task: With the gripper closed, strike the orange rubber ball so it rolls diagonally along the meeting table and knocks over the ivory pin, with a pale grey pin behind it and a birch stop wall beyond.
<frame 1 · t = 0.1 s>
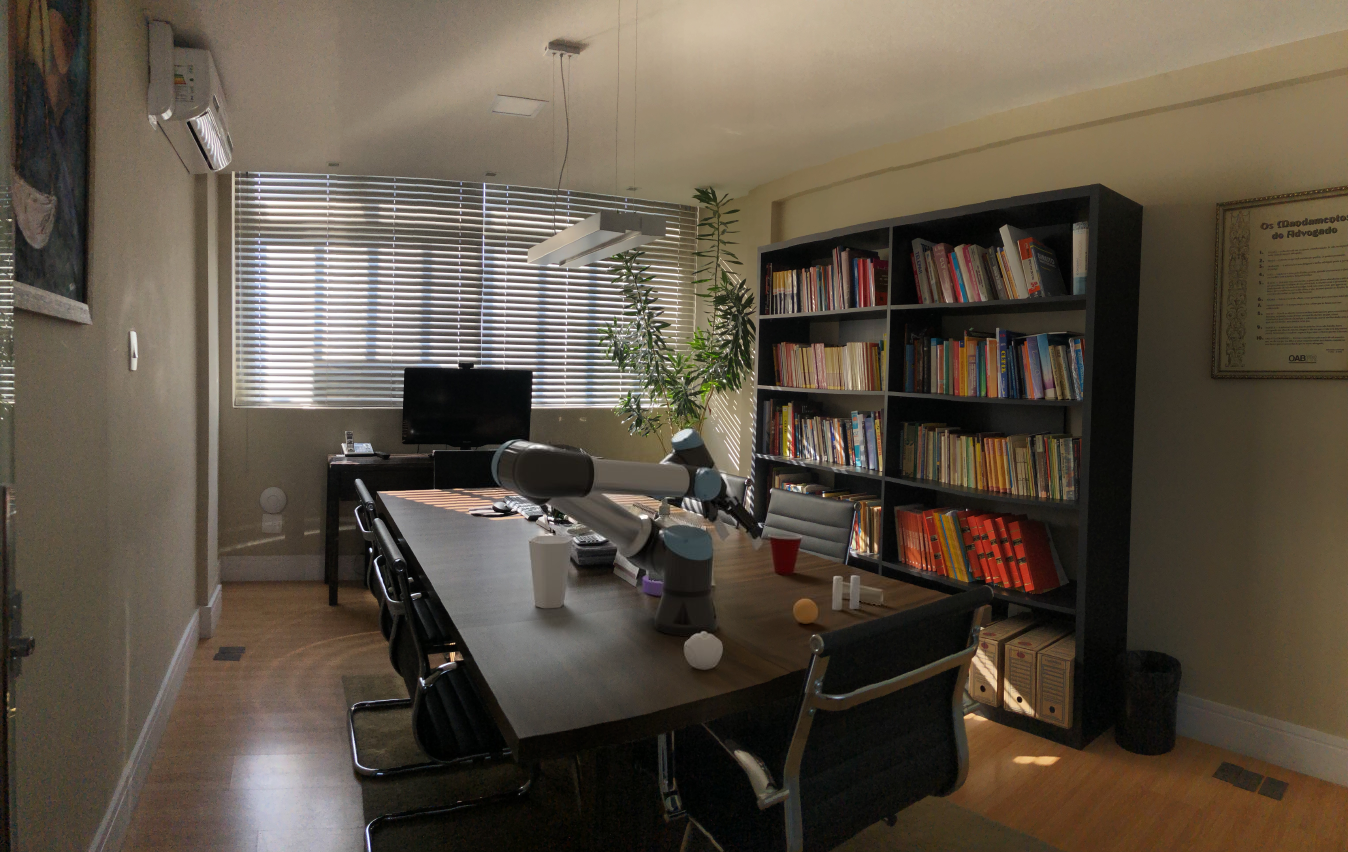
hand: (742, 541, 219), 15 cm above the table, tool tilted 35°, fingers open, 13 cm apart
pin 2: (854, 608, 212), on the table
cup: (549, 605, 207), on the table
masking tape: (663, 591, 225), on the table
plastic cup: (784, 573, 250), on the table
stop wall: (857, 599, 220), on the table
pin 1: (836, 608, 211), on the table
ball: (805, 611, 197), on the table
white round lump: (702, 669, 164), on the table
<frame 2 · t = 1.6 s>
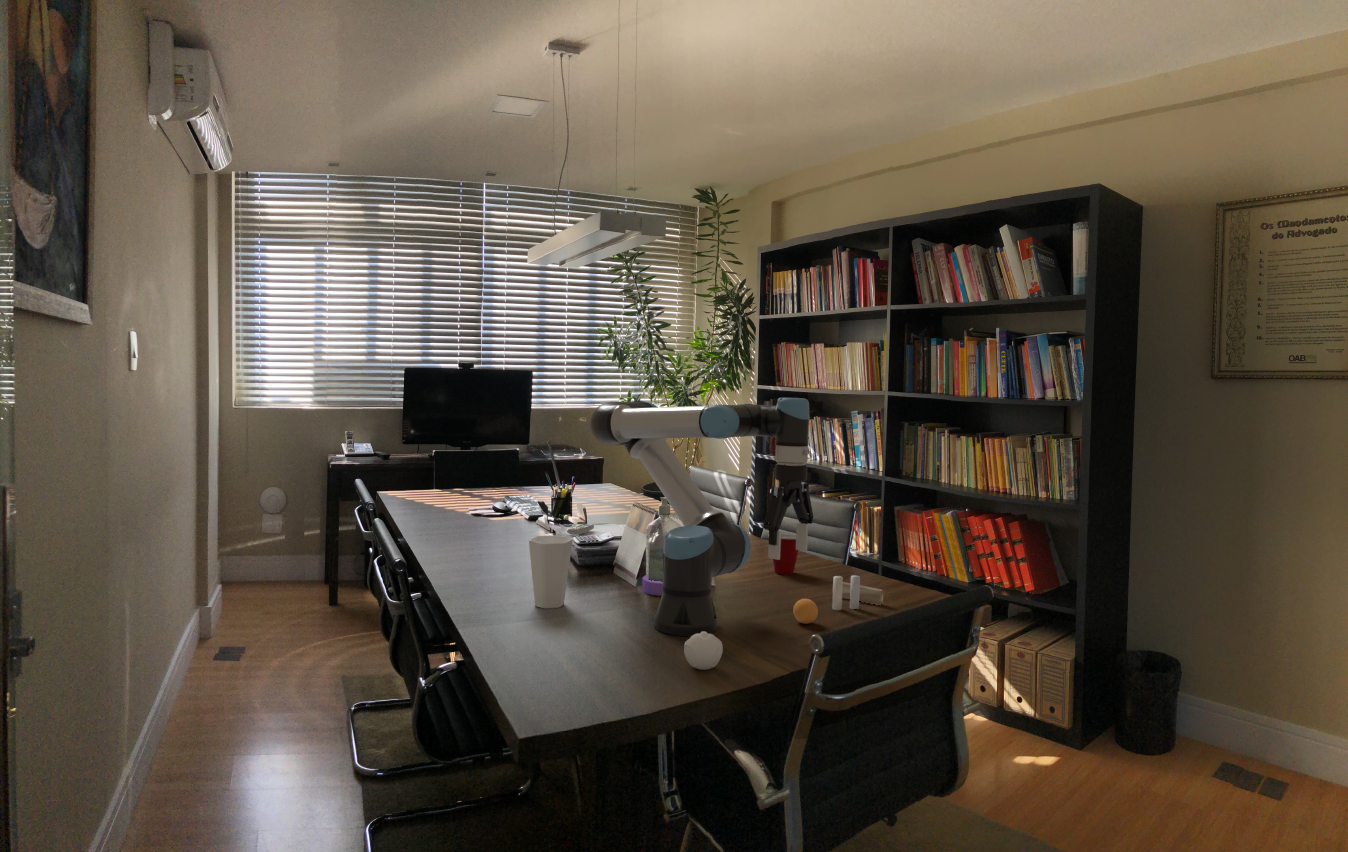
hand: (788, 554, 189), 18 cm above the table, tool pointing down, fingers open, 12 cm apart
nothing on the table moved.
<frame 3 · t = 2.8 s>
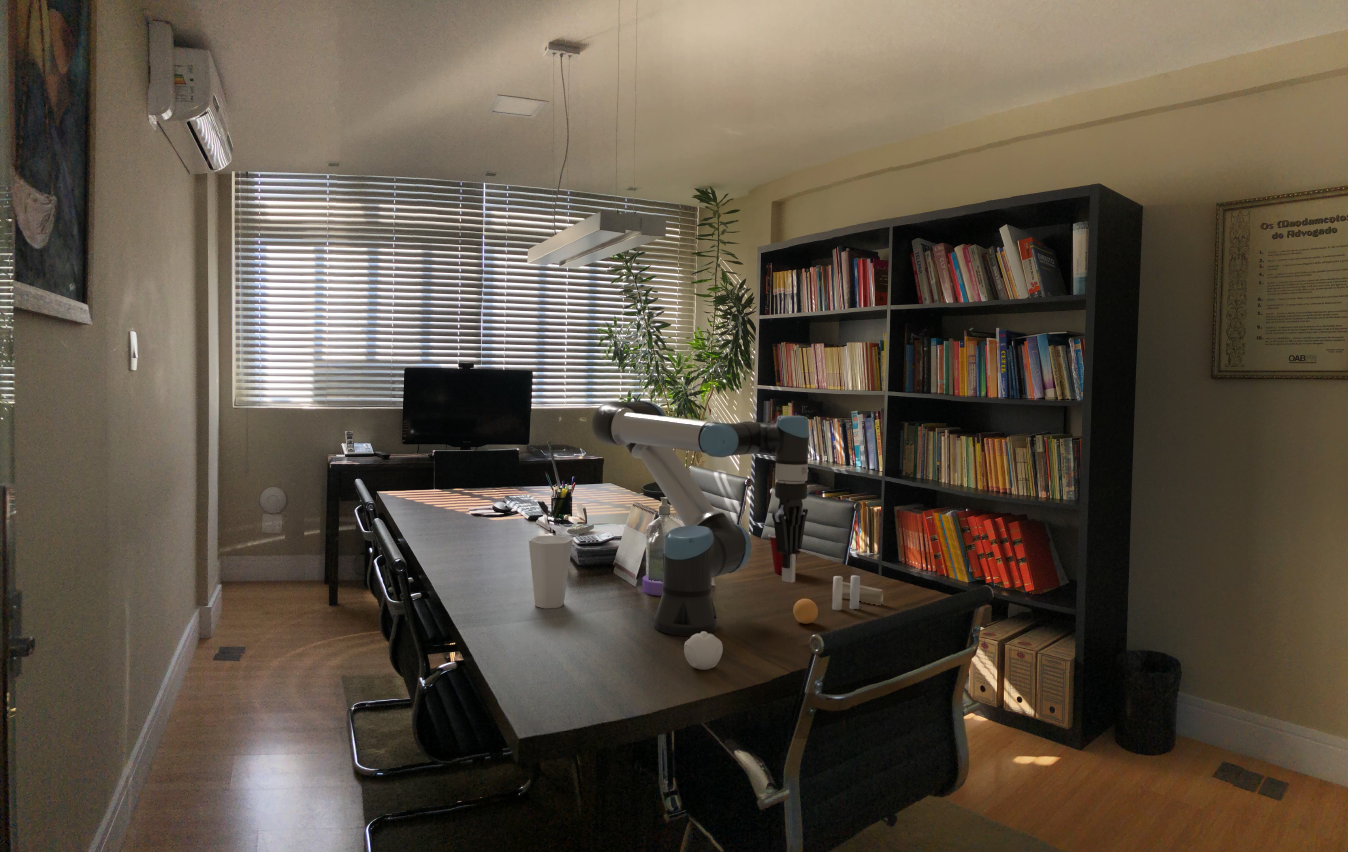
hand: (788, 580, 189), 12 cm above the table, tool pointing down, fingers closed
nothing on the table moved.
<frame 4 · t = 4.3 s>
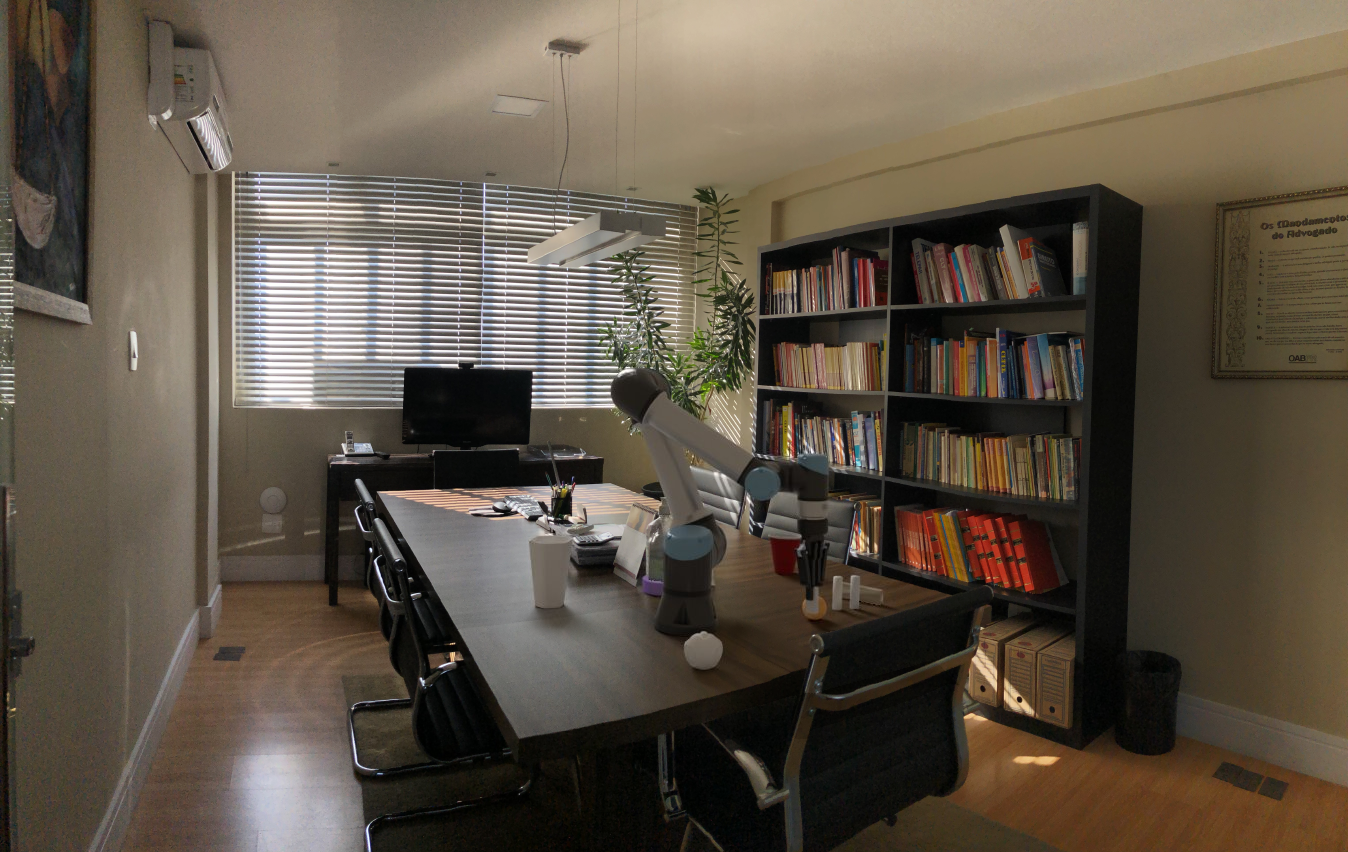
hand: (812, 612, 197), 3 cm above the table, tool pointing down, fingers closed
ball: (814, 607, 201), on the table
everything else where it was.
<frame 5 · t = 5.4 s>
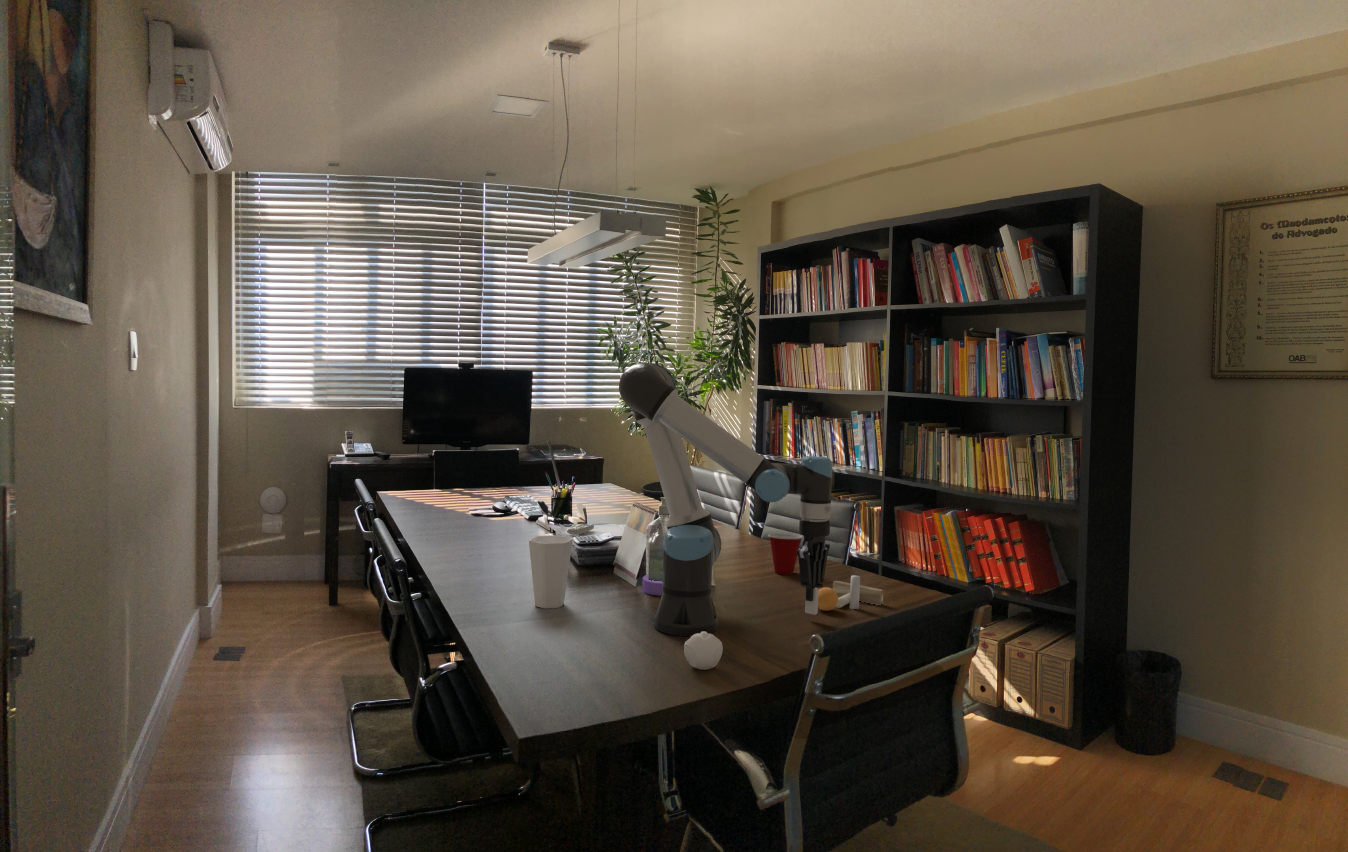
hand: (811, 612, 200), 2 cm above the table, tool pointing down, fingers closed
pin 1: (837, 603, 212), point 1 cm above the table, tilted 90°
ball: (826, 598, 209), on the table
everything else where it was.
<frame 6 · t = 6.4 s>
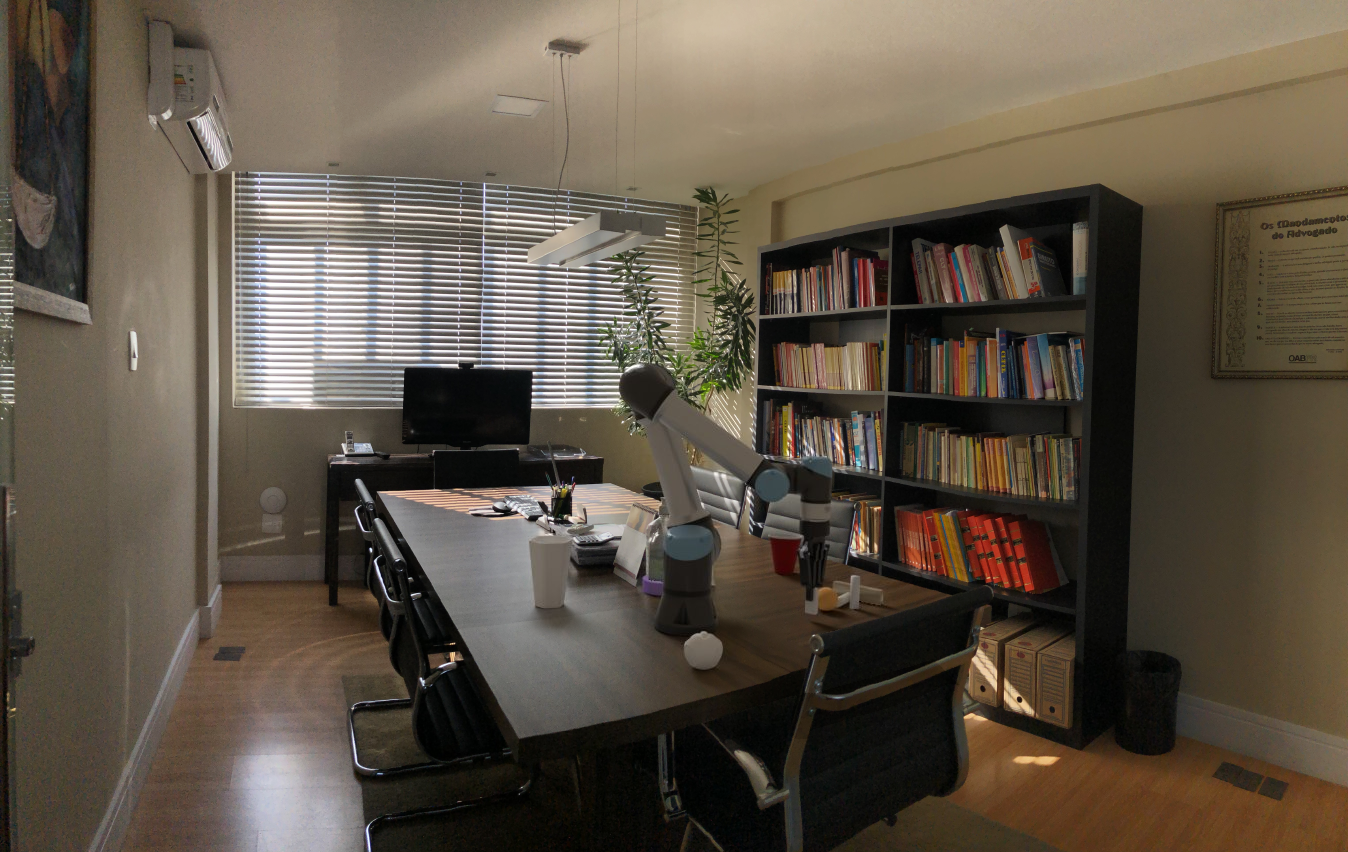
hand: (811, 612, 200), 2 cm above the table, tool pointing down, fingers closed
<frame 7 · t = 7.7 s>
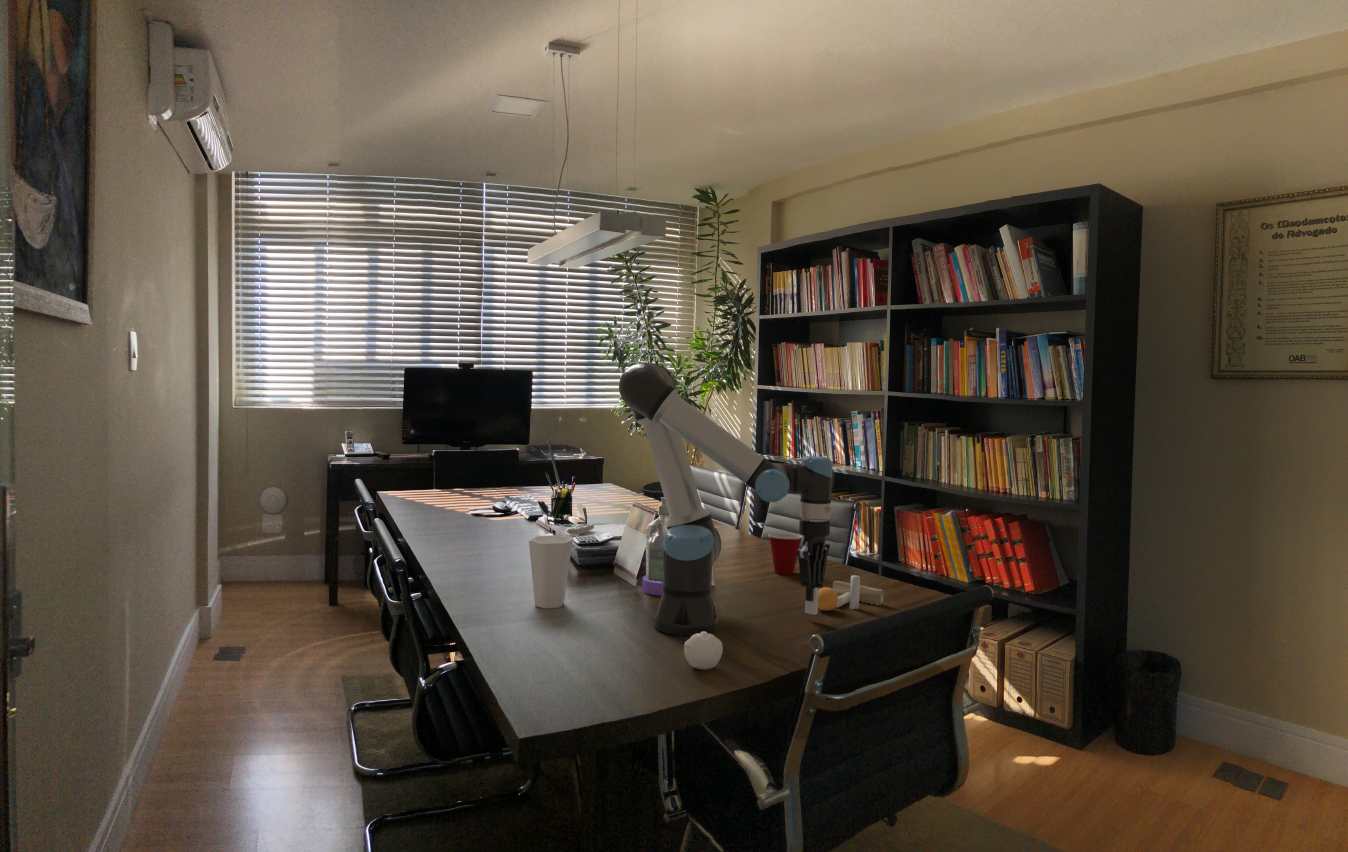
hand: (811, 612, 200), 2 cm above the table, tool pointing down, fingers closed
nothing on the table moved.
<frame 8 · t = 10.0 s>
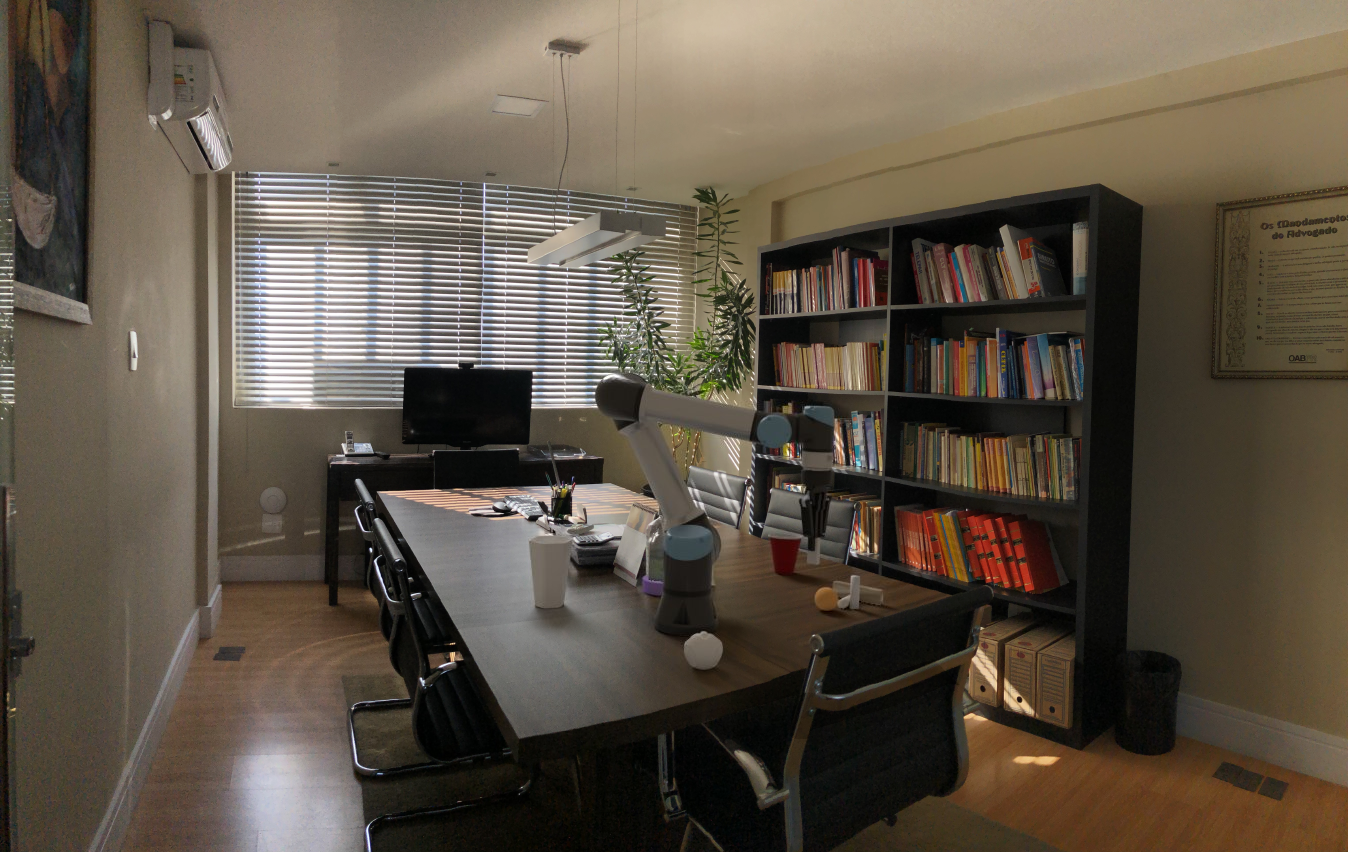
hand: (813, 563, 199), 14 cm above the table, tool pointing down, fingers closed
pin 1: (841, 604, 211), point 1 cm above the table, tilted 90°
everything else where it was.
at the end: pin 1 tilted 90°; pin 1 never touched the robot; ball moved 13.9 cm from its start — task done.
